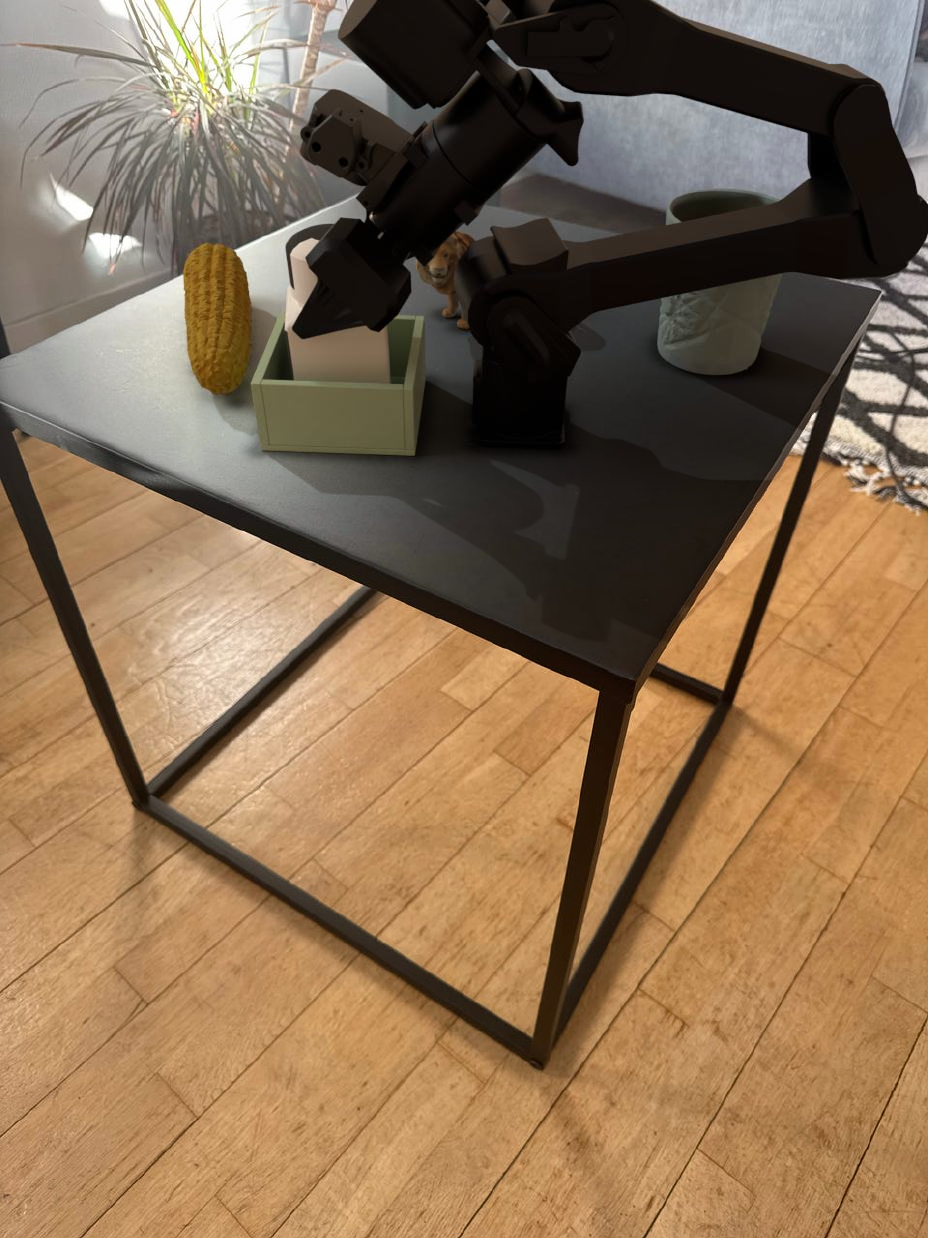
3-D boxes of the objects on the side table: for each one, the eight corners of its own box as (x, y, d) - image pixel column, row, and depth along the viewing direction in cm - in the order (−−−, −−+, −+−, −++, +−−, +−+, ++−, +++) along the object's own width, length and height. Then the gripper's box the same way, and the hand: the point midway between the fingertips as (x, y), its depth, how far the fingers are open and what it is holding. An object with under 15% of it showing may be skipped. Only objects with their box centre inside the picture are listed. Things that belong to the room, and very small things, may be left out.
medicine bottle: (298, 369, 75) (277, 216, 67) (387, 364, 76) (377, 212, 68) (296, 416, 70) (273, 257, 62) (392, 411, 71) (382, 251, 62)
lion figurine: (429, 344, 82) (428, 241, 76) (405, 319, 85) (402, 218, 79) (574, 313, 87) (584, 213, 81) (545, 290, 90) (553, 193, 84)
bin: (425, 378, 78) (424, 315, 74) (414, 456, 69) (413, 389, 66) (288, 374, 78) (280, 310, 74) (260, 450, 70) (250, 383, 66)
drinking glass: (781, 345, 83) (818, 205, 75) (737, 393, 77) (772, 246, 68) (675, 315, 87) (699, 178, 79) (625, 358, 81) (645, 215, 72)
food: (188, 299, 88) (176, 234, 84) (249, 294, 89) (240, 230, 85) (193, 415, 73) (179, 343, 69) (267, 407, 74) (257, 336, 70)
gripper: (412, 13, 63) (277, 175, 72) (323, 89, 50) (172, 275, 59) (523, 148, 67) (382, 284, 76) (468, 251, 54) (306, 401, 63)
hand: (317, 306), depth 68 cm, fingers closed on medicine bottle, 8 cm apart
